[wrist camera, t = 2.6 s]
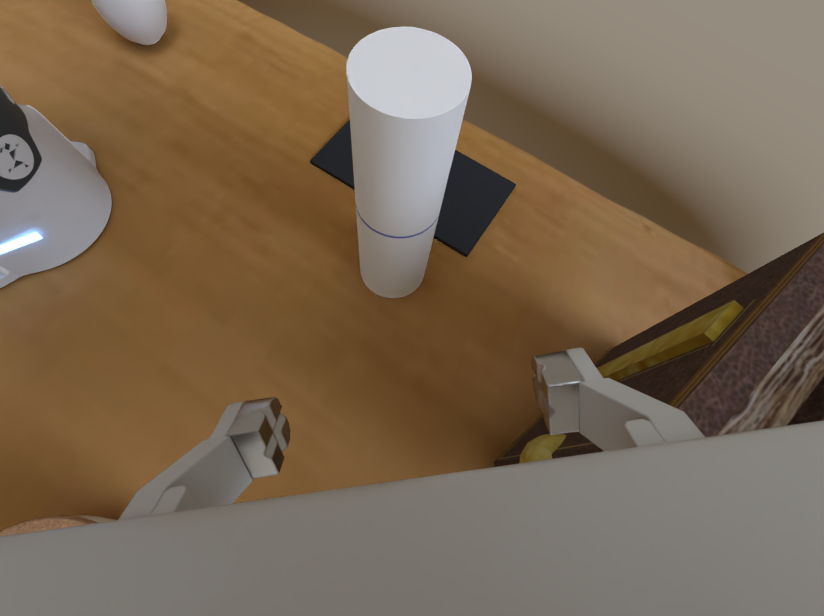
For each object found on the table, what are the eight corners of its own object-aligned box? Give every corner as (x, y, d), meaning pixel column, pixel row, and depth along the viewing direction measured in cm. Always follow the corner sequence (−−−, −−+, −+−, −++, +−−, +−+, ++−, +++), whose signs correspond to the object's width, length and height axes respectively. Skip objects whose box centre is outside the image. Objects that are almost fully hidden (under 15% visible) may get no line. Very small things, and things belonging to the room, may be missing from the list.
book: (610, 333, 47) (840, 191, 24) (672, 393, 45) (988, 303, 22) (463, 474, 40) (583, 469, 17) (528, 552, 38) (762, 664, 15)
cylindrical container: (346, 273, 47) (319, 73, 24) (386, 229, 49) (397, 9, 26) (398, 311, 46) (423, 140, 23) (437, 264, 48) (495, 67, 25)
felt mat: (310, 163, 52) (310, 160, 52) (368, 103, 56) (368, 100, 56) (466, 257, 49) (467, 254, 49) (515, 186, 53) (516, 184, 53)
